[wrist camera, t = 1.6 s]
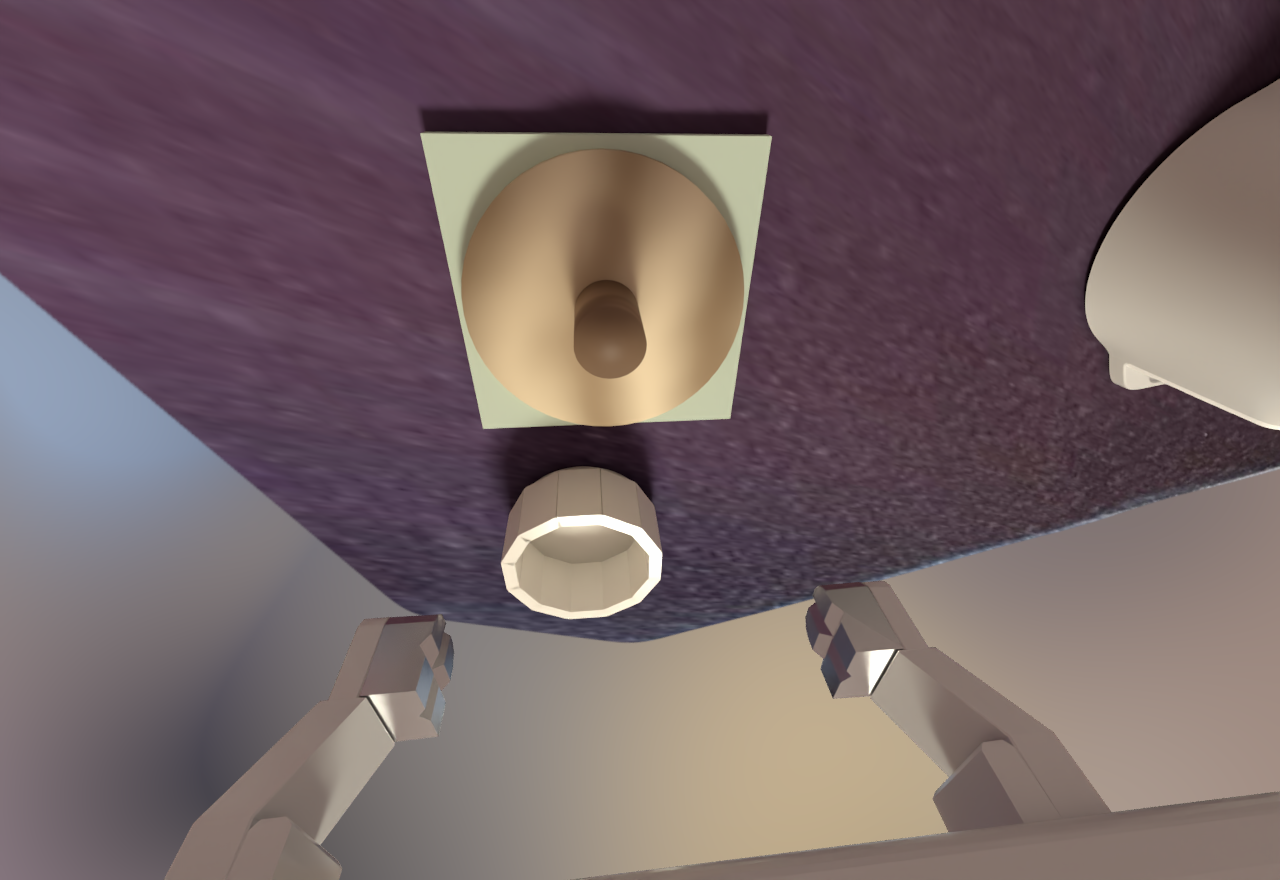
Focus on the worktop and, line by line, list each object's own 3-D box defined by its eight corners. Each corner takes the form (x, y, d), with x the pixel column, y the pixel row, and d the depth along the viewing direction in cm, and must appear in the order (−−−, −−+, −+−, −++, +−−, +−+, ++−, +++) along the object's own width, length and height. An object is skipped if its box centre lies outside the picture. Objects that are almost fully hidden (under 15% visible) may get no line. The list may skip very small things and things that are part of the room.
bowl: (654, 458, 33) (664, 510, 29) (650, 557, 39) (658, 612, 35) (502, 465, 32) (491, 520, 28) (522, 565, 38) (514, 623, 34)
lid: (758, 148, 22) (797, 164, 18) (723, 412, 30) (744, 463, 26) (435, 147, 21) (400, 164, 17) (490, 421, 29) (476, 476, 25)
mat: (766, 134, 22) (771, 136, 22) (727, 411, 31) (729, 418, 31) (425, 131, 21) (420, 133, 20) (485, 421, 30) (483, 428, 29)
